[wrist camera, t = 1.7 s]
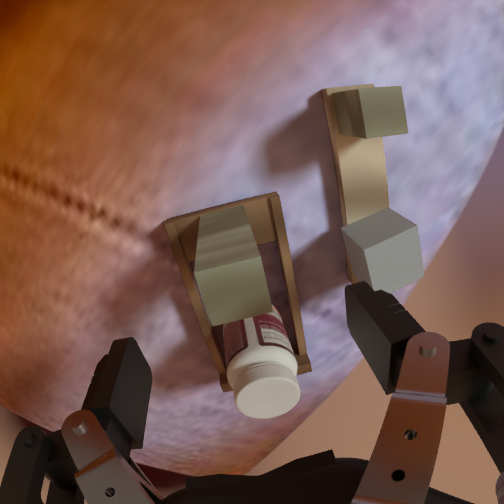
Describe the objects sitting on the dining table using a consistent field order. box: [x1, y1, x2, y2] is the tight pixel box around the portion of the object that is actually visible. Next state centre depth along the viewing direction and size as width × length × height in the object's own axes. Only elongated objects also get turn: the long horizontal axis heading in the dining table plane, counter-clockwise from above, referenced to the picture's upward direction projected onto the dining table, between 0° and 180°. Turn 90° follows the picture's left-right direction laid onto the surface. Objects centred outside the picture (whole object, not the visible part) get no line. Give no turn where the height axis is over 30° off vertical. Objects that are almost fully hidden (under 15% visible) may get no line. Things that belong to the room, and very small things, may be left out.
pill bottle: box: [223, 305, 300, 419], centre depth 22 cm, size 5×5×8 cm
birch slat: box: [321, 84, 408, 284], centre depth 20 cm, size 14×4×5 cm, turn 13°
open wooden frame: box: [165, 192, 312, 392], centre depth 20 cm, size 14×8×9 cm, turn 13°
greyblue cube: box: [340, 207, 424, 293], centre depth 21 cm, size 4×4×4 cm
